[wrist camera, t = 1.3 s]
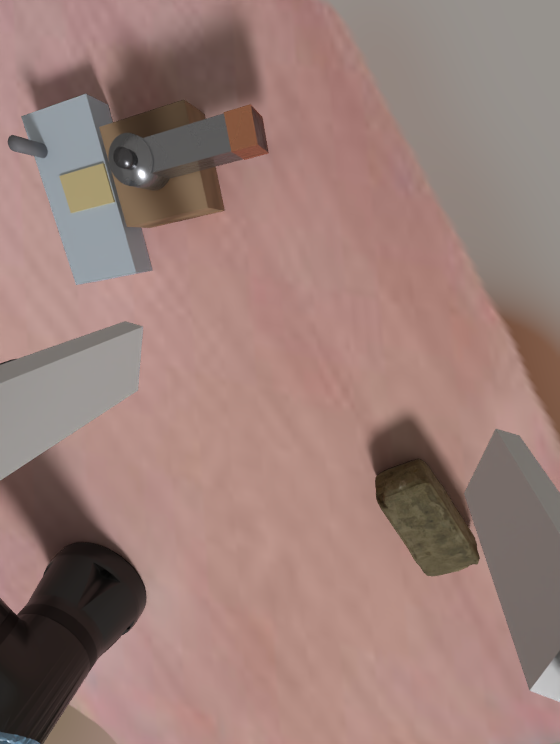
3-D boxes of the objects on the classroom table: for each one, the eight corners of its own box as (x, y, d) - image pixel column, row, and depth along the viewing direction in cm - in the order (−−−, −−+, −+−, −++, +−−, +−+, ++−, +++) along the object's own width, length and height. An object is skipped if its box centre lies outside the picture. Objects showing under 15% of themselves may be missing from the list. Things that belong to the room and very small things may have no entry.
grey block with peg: (95, 281, 42) (53, 288, 36) (47, 125, 38) (-9, 106, 32) (152, 270, 40) (117, 275, 35) (108, 104, 36) (59, 80, 30)
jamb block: (150, 227, 39) (126, 226, 35) (126, 138, 36) (99, 127, 33) (224, 210, 37) (207, 207, 33) (204, 114, 34) (184, 99, 31)
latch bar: (139, 194, 34) (108, 189, 30) (127, 148, 33) (93, 136, 29) (269, 161, 30) (254, 149, 27) (261, 108, 29) (243, 89, 25)
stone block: (419, 449, 40) (426, 477, 36) (475, 532, 42) (488, 569, 37) (370, 472, 42) (370, 501, 38) (425, 550, 44) (432, 587, 39)
